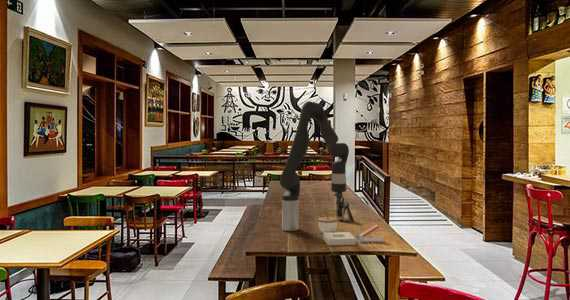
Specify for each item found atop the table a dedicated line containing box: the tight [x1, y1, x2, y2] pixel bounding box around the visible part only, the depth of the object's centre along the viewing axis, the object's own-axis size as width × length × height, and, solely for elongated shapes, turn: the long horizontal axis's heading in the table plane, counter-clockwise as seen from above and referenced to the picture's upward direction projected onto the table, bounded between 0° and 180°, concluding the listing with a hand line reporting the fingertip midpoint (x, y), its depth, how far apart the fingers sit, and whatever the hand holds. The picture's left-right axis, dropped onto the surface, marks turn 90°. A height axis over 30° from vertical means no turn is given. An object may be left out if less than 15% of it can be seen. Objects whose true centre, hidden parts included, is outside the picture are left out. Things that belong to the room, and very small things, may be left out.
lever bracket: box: [354, 232, 385, 244], centre depth 224 cm, size 14×7×3 cm, turn 95°
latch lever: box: [358, 224, 380, 238], centre depth 224 cm, size 12×3×2 cm, turn 94°
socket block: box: [322, 231, 357, 246], centre depth 223 cm, size 14×14×3 cm
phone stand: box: [338, 200, 355, 223], centre depth 274 cm, size 9×6×12 cm, turn 95°
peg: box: [333, 198, 345, 221], centre depth 222 cm, size 4×4×10 cm
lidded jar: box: [317, 215, 338, 234], centre depth 243 cm, size 11×11×9 cm
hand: (338, 215), depth 222 cm, fingers closed on peg, 4 cm apart
